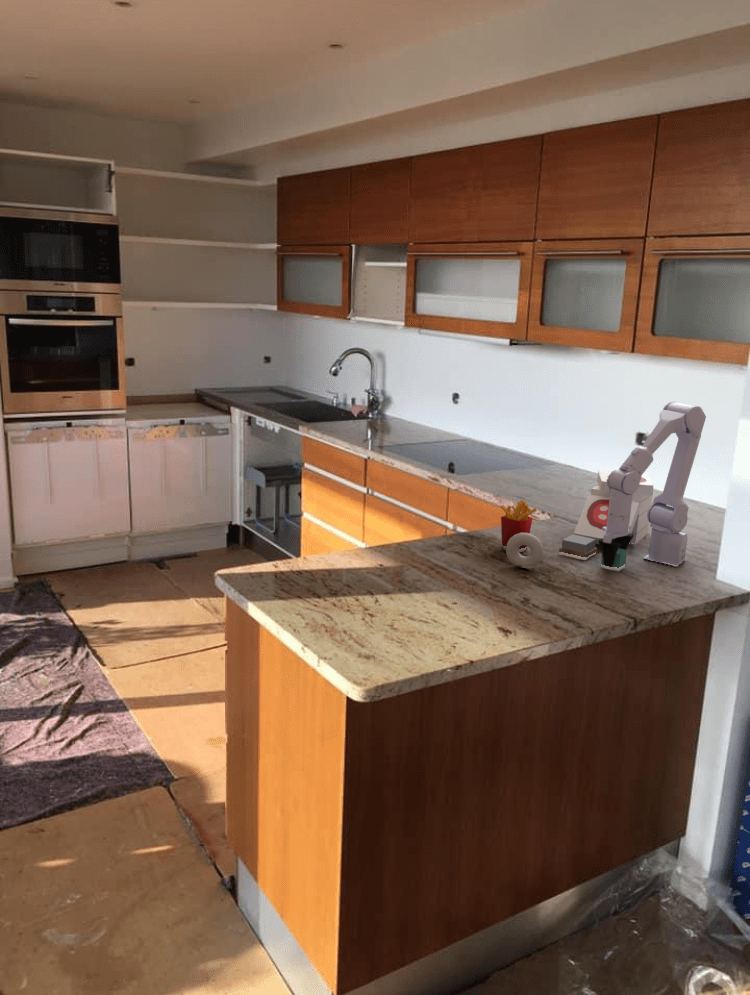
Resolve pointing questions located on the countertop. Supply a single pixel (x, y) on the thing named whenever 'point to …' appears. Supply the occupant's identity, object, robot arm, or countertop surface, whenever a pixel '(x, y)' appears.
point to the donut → (529, 541)
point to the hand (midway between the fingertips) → (613, 562)
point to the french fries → (516, 521)
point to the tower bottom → (578, 552)
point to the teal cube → (618, 558)
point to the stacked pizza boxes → (598, 510)
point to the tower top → (578, 543)
